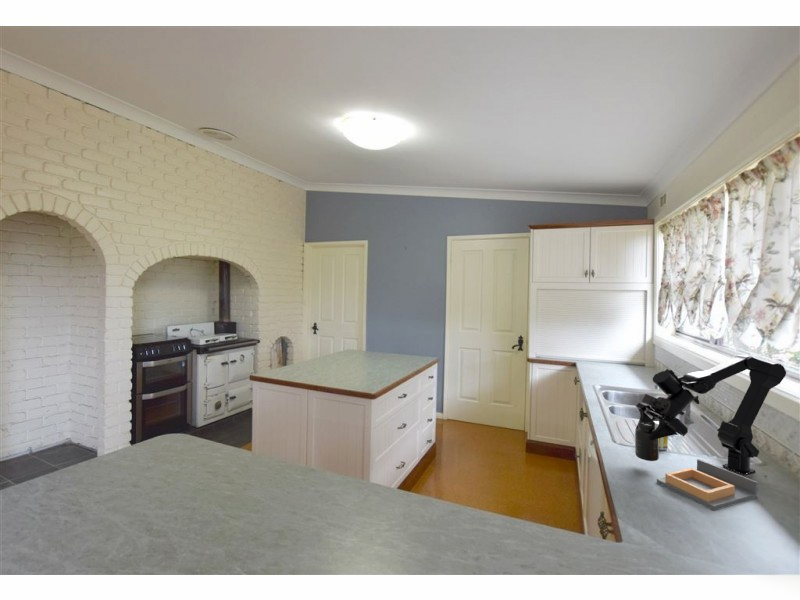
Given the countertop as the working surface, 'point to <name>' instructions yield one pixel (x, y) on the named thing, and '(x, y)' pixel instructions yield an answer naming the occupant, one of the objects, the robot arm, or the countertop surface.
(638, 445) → the supplement bottle
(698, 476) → the housing
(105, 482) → the countertop surface
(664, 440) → the supplement bottle
